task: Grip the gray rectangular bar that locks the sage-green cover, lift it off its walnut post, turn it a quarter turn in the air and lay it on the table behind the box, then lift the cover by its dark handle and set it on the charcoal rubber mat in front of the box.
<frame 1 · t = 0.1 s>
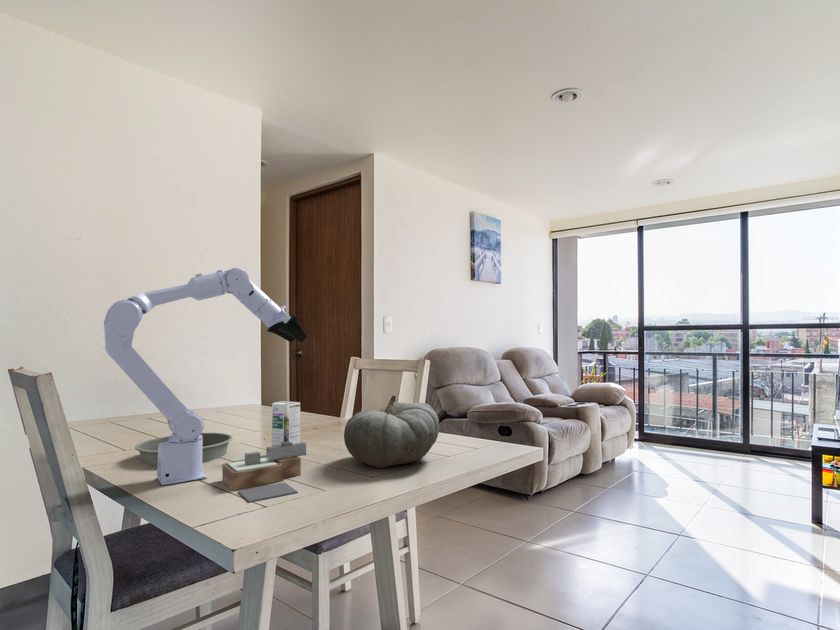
hand: (299, 339, 133), 32 cm above the table, fingers open, 7 cm apart
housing: (252, 480, 113), on the table
mat: (267, 492, 104), on the table
gray rectangular bar: (286, 457, 118), point 4 cm above the table, touching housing
gourd: (391, 462, 128), on the table
cover: (252, 467, 113), point 3 cm above the table, touching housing
syrup box: (286, 455, 138), on the table
cake pan: (185, 457, 138), on the table
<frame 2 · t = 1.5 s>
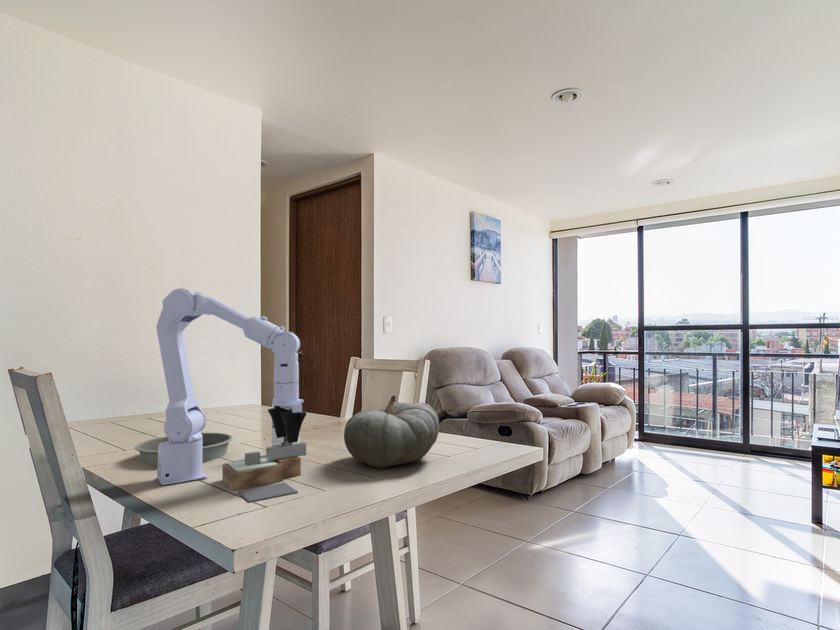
hand: (286, 439, 118), 8 cm above the table, fingers open, 7 cm apart
nothing on the table moved.
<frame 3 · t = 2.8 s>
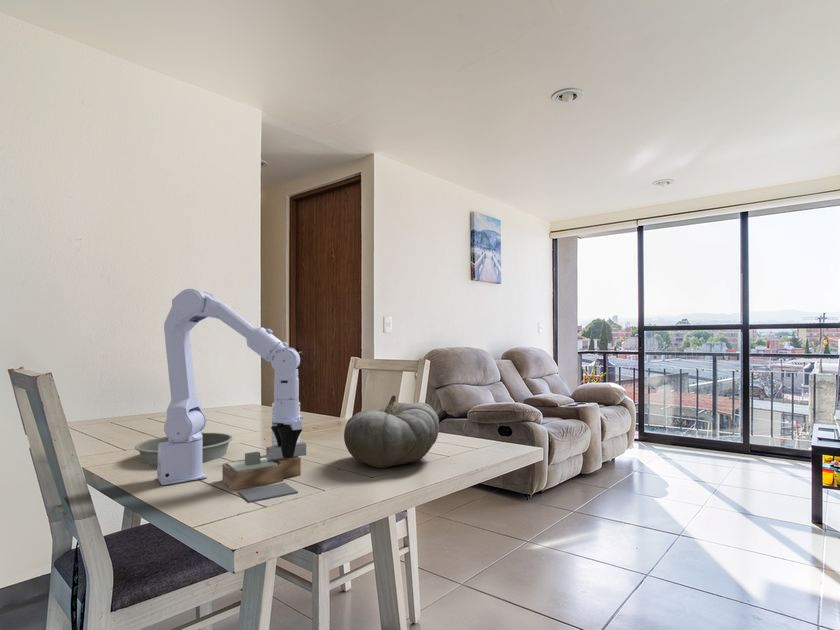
hand: (286, 456, 118), 4 cm above the table, fingers closed on gray rectangular bar, 2 cm apart
gray rectangular bar: (286, 457, 118), point 4 cm above the table, touching gripper, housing
everything else where it was.
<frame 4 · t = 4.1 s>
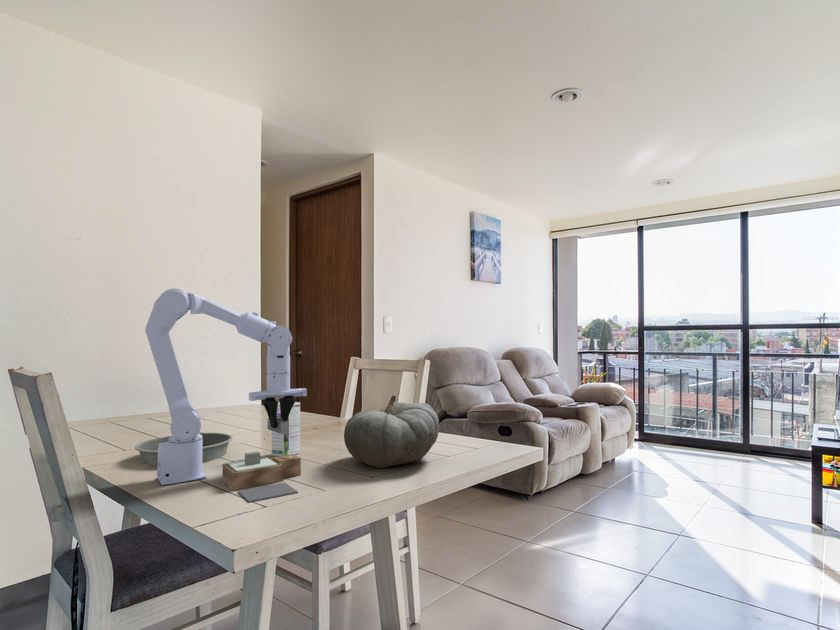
hand: (278, 427, 125), 10 cm above the table, fingers closed on gray rectangular bar
gray rectangular bar: (278, 430, 125), point 9 cm above the table, touching gripper
everything else where it was.
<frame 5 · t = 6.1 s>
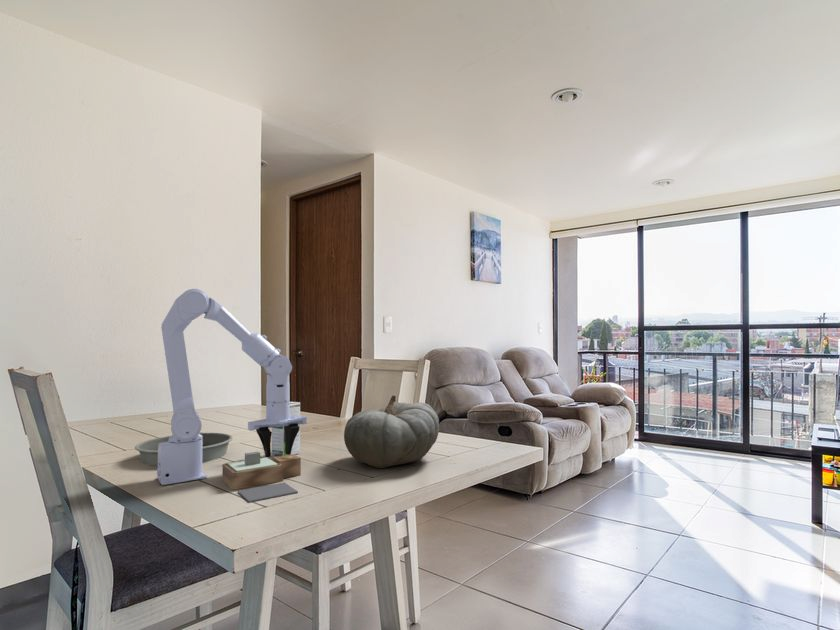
hand: (278, 455, 126), 3 cm above the table, fingers open, 5 cm apart
gray rectangular bar: (277, 466, 126), on the table
everything else where it was.
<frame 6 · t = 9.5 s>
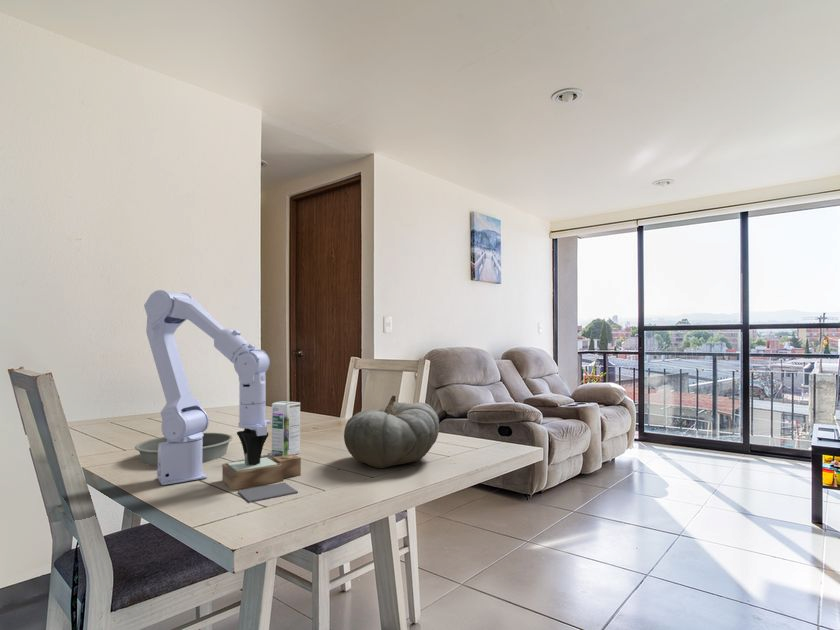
hand: (252, 462, 113), 4 cm above the table, fingers closed on cover, 2 cm apart
cover: (252, 467, 113), point 3 cm above the table, touching gripper, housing
everything else where it was.
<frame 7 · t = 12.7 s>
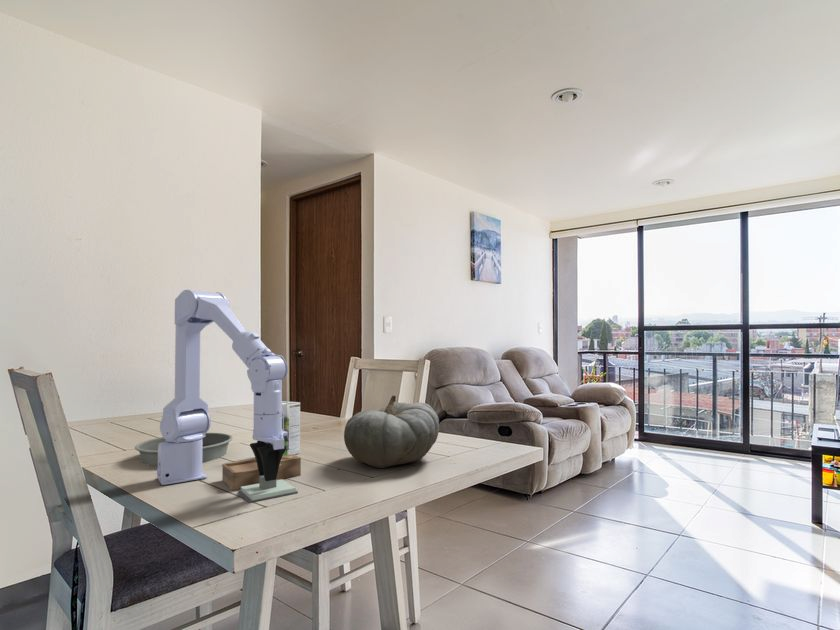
hand: (267, 478, 104), 3 cm above the table, fingers open, 3 cm apart
cover: (267, 491, 104), resting on mat
everything else where it was.
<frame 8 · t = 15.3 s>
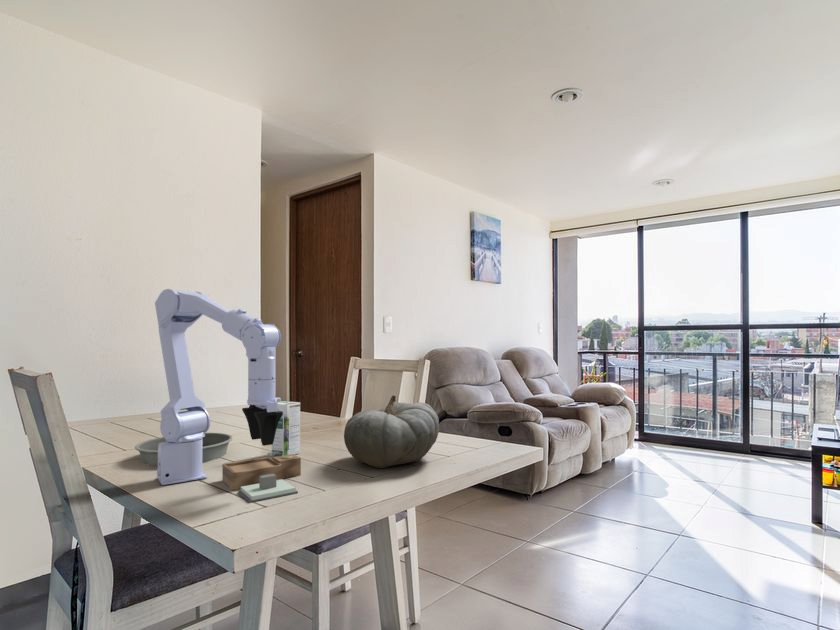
hand: (261, 441, 108), 10 cm above the table, fingers open, 7 cm apart
nothing on the table moved.
at the end: gray rectangular bar inside the target area (0.3 cm from its centre), on the table; cover inside the target area (0.0 cm from its centre), resting on mat; cover touching mat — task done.
